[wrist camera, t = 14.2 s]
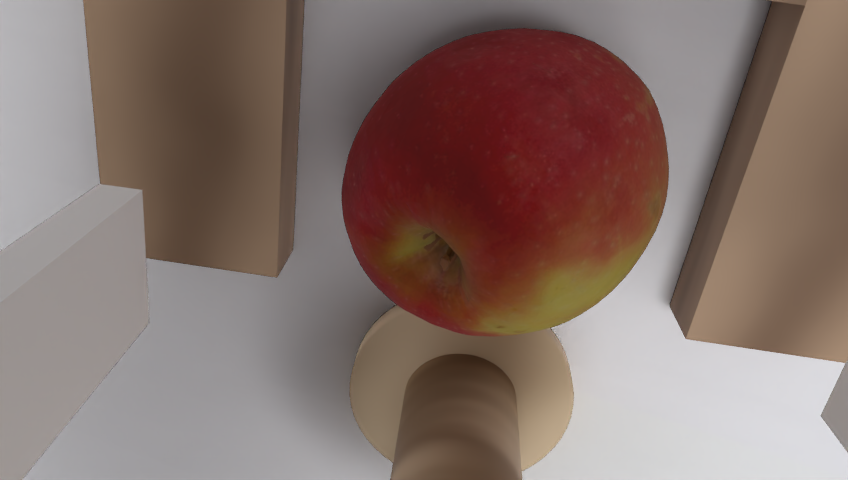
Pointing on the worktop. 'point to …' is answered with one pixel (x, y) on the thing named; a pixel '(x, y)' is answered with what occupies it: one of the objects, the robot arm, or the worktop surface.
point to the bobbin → (459, 399)
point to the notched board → (278, 146)
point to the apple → (506, 181)
